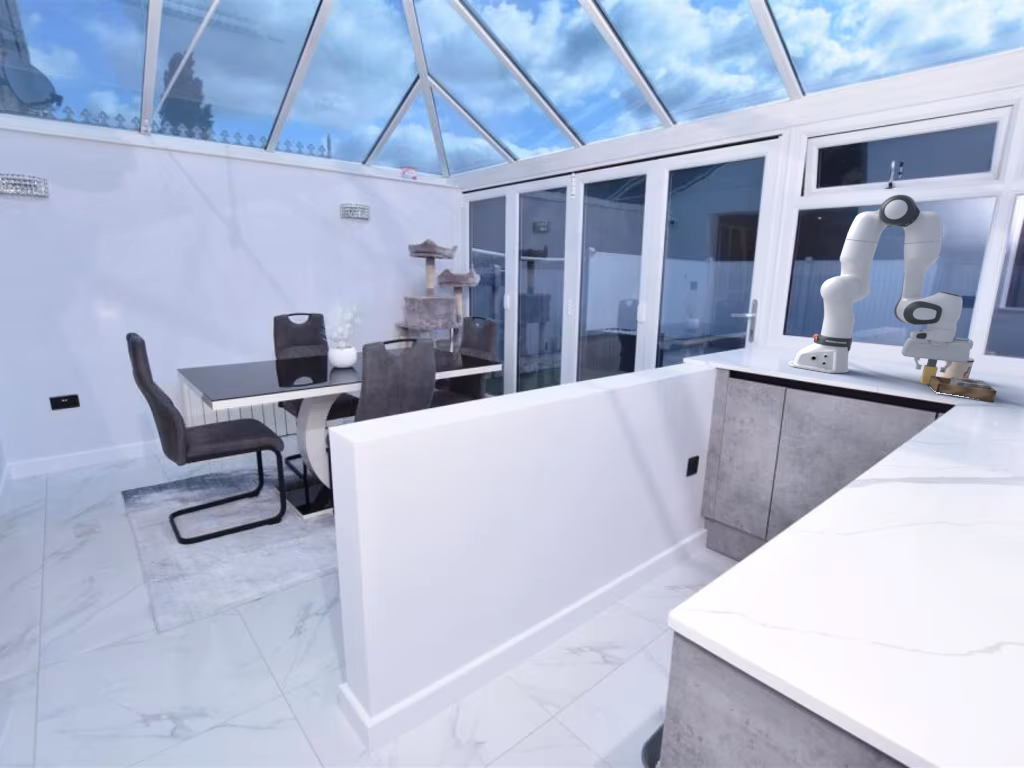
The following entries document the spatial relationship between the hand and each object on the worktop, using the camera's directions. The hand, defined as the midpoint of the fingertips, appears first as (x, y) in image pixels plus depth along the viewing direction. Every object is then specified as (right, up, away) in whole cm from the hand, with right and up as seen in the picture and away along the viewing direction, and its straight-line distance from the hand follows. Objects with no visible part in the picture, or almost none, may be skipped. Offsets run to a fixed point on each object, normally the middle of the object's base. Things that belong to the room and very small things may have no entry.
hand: (930, 370), depth 199 cm
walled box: (+1, -9, -12) cm, 14 cm away
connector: (0, -5, +1) cm, 5 cm away
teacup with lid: (+20, -3, +12) cm, 23 cm away
